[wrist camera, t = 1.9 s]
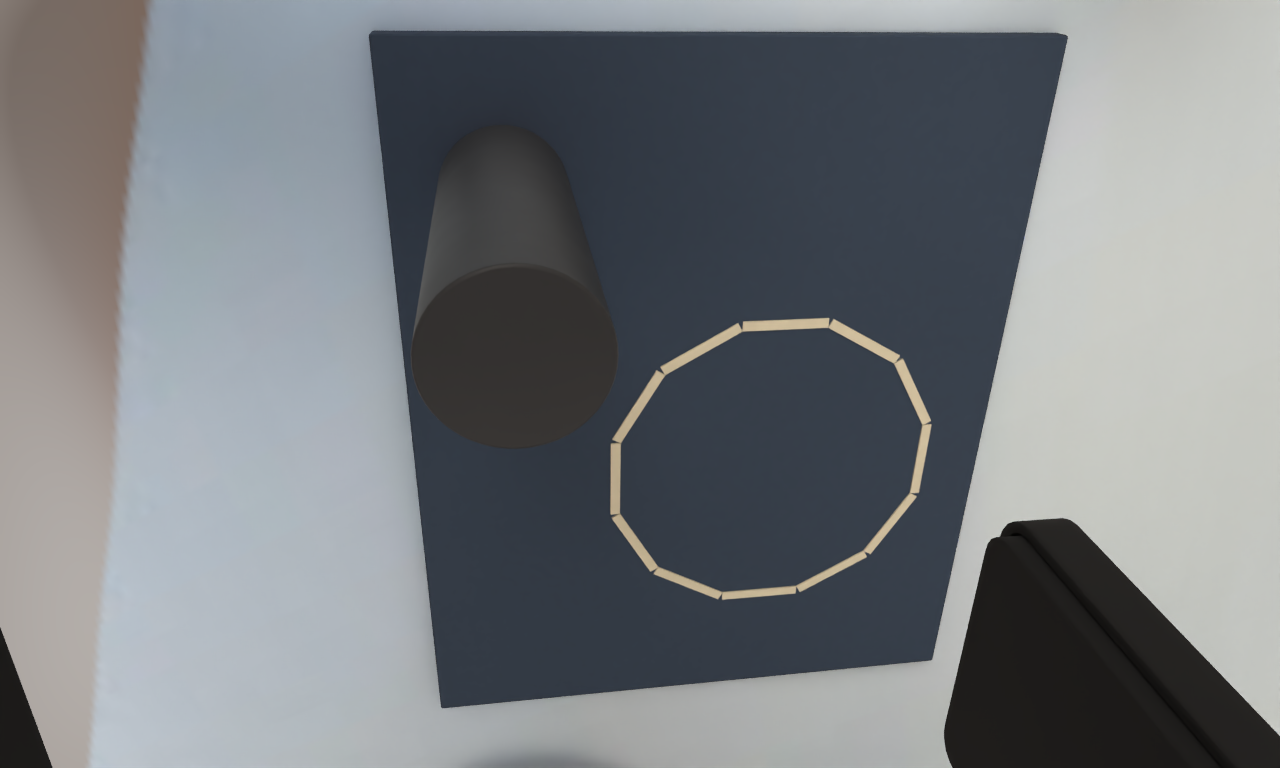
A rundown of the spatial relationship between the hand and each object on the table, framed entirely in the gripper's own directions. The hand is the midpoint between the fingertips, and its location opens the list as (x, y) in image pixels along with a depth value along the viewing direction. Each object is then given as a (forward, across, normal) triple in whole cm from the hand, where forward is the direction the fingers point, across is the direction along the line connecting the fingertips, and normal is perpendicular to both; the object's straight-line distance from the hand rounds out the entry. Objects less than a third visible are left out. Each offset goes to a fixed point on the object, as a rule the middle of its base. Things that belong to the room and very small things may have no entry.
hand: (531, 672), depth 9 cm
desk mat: (+18, -6, +7) cm, 20 cm away
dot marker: (+17, 0, 0) cm, 17 cm away
